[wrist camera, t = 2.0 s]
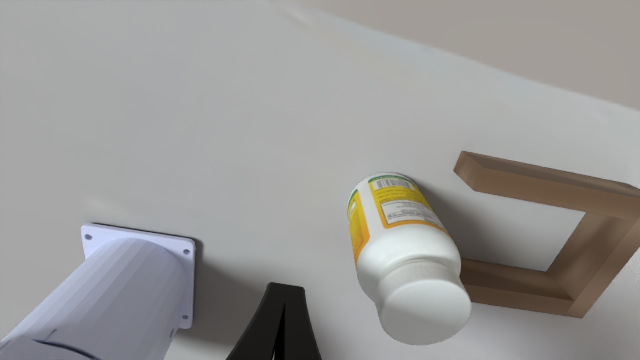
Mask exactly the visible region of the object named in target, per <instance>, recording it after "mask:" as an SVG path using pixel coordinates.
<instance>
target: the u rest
mask: <svg viewBox="0 0 640 360" xmlns="http://www.w3.org/2000/svg"><path fill="white" fill-rule="evenodd" d="M453 171H454V172H455V173H456V174H457V175H458V176H459V177H460V178H461V179H462V180H463V181H464V182H465V183H466V184H467V185H468V186H469V187H471V188H472V189H473V190H474V191H477V192H482V193H488V194H493V195H499V196H504V197H509V198H515V199H520V200H525V201H531V202H536V203H541V204H547V205H552V206H557V207H563V208H568V209H573V210H579V211H584V212H587V213H586V214H585V216H584V217H583V219H582V220H581V222H580V223H579V225H578V226H577V227H576V229H575V230H574V232H573V233H572V235H571V236H570V238H569V239H568V241H567V242H566V244H565V245H564V247H563V248H562V250H561V251H560V253H559V254H558V256H557V257H556V259H555V260H554V262H553V263H552V265H551V266H550V267H549V269H548V270H547V272H542V271H536V270H529V269H523V268H517V267H511V266H505V265H499V264H493V263H487V262H480V261H474V260H468V259H462V258H460V259H461V271H460V275H459V278H460V280H461V283H462V284H463V286H464V288H465V290H466V292H467V293H468V295H469V298H470V301H471V302H475V303H482V304H489V305H495V306H502V307H509V308H515V309H522V310H529V311H536V312H542V313H549V314H556V315H563V316H569V317H576V318H583V316H584V315H585V314H586V313H587V311H588V310H589V309H590V308H591V306H592V305H593V304H594V303H595V301H596V300H597V299H598V298H599V296H600V295H601V294H602V293H603V292H604V290H605V289H606V288H607V287H608V285H609V284H610V283H611V282H612V280H613V279H614V278H615V277H616V275H617V274H618V273H619V272H620V270H621V269H622V268H623V267H624V266H625V264H626V263H627V262H628V261H629V259H630V258H631V257H632V256H633V254H634V253H635V252H636V251H637V249H638V248H639V247H640V189H638V188H636V187H633V186H631V185H629V184H626V183H621V182H616V181H611V180H606V179H601V178H596V177H591V176H586V175H581V174H576V173H571V172H566V171H561V170H556V169H551V168H546V167H541V166H536V165H531V164H526V163H521V162H516V161H511V160H506V159H501V158H496V157H491V156H486V155H481V154H476V153H471V152H466V151H462V152H461V154H460V156H459V159H458V161H457V163H456V166H455V168H454V170H453Z"/></svg>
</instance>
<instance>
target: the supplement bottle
mask: <svg viewBox="0 0 640 360" xmlns="http://www.w3.org/2000/svg"><path fill="white" fill-rule="evenodd" d="M347 214H348V220H349V227H350V233H351V239H352V246H353V252H354V259H355V265H356V271H357V277H358V280H359V283H360V285H361V287H362V289H363V291H364V292H365V294H366V295H367V296H368V297H369V298H370V299H371V300H373V301H374V302H375V305H376V308H377V311H378V316H379V320H380V323H381V325H382V327H383V329H384V331H385V332H386V333H387V334H388V335H389V336H391V337H392V338H393V339H395V340H397V341H400V342H402V343H406V344H410V345H429V344H433V343H438V342H441V341H444V340H446V339H448V338H450V337H452V336H453V335H455V334H456V333H457V332H459V331H460V330H461V329H462V328H463V327H464V326H465V324H466V323H467V321H468V319H469V318H470V315H471V309H472V307H471V301H470V298H469V295H468V293H467V292H466V290H465V288H464V286H463V284H462V283H461V280H460V278H459V275H460V271H461V259H460V255H459V251H458V249H457V247H456V245H455V243H454V242H453V240H452V238H451V237H450V235H449V234H448V232H447V231H446V229H445V228H444V226H443V225H442V223H441V222H440V220H439V219H438V217H437V216H436V214H435V213H434V211H433V210H432V208H431V207H430V205H429V204H428V202H427V201H426V199H425V198H424V196H423V195H422V193H421V192H420V190H419V189H418V187H417V186H416V185H415V184H414V183H413V182H412V181H411V180H410V179H408V178H407V177H405V176H402V175H400V174H396V173H388V172H386V173H378V174H374V175H372V176H369V177H367V178H365V179H364V180H362V181H361V182H360V183H359V184H358V185H357V186H356V187H355V188H354V189H353V191H352V192H351V195H350V197H349V200H348V204H347Z"/></svg>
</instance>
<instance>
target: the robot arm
mask: <svg viewBox="0 0 640 360" xmlns="http://www.w3.org/2000/svg"><path fill="white" fill-rule="evenodd" d="M81 235H82V241H83V248H84V254H85V261H84V262H83V263H82V264H81V265H80V266H79V267H78V268H77V269H76V270H75V271H74V272H73V273H72V274H71V275H70V276H69V277H68V278H66V279H65V280H64V281H63V282H62V283H61V284H60V285H59V286H58V287H57V288H56V289H55V290H54V291H53V292H52V293H51V294H50V295H49V296H48V297H47V298H46V299H45V300H43V301H42V302H41V303H40V304H39V305H38V306H37V307H36V308H35V309H34V310H33V311H32V312H31V313H30V314H29V315H28V316H27V317H26V318H25V319H24V320H23V321H22V322H20V323H19V324H18V325H17V326H16V327H15V328H14V329H13V330H12V331H11V332H10V333H9V334H8V335H7V336H6V337H5V338H4V339H3V340H2V341H1V342H0V360H163V359H164V356H165V354H166V352H167V350H168V348H169V346H170V344H171V342H172V340H173V338H174V336H175V333H176V331H177V329H178V328H182V329H188V328H190V327H191V325H192V323H193V296H194V269H195V242H194V241H193V240H192V239H189V238H182V237H176V236H169V235H163V234H157V233H150V232H144V231H137V230H131V229H124V228H118V227H112V226H105V225H99V224H92V223H87V224H85V225H83V226H82V227H81ZM90 235H91V236H92V237H91V236H90ZM186 249H188V250H189V251H187V250H186ZM274 350H275V355H274ZM273 355H274V360H322V359H321V356H320V353H319V350H318V347H317V344H316V340H315V337H314V333H313V330H312V326H311V323H310V318H309V314H308V310H307V304H306V298H305V290H304V288H303V287H299V286H293V285H286V284H280V283H273V282H271V283H269V284H268V286H267V289H266V292H265V294H264V297H263V299H262V301H261V303H260V305H259V307H258V309H257V311H256V313H255V315H254V316H253V318H252V320H251V321H250V323H249V325H248V327H247V328H246V330H245V332H244V333H243V335H242V336H241V338H240V339H239V341H238V342H237V344H236V345H235V347H234V348H233V350H232V351H231V353H230V354H229V356H228V357H227V358H226V360H272V359H273Z"/></svg>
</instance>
